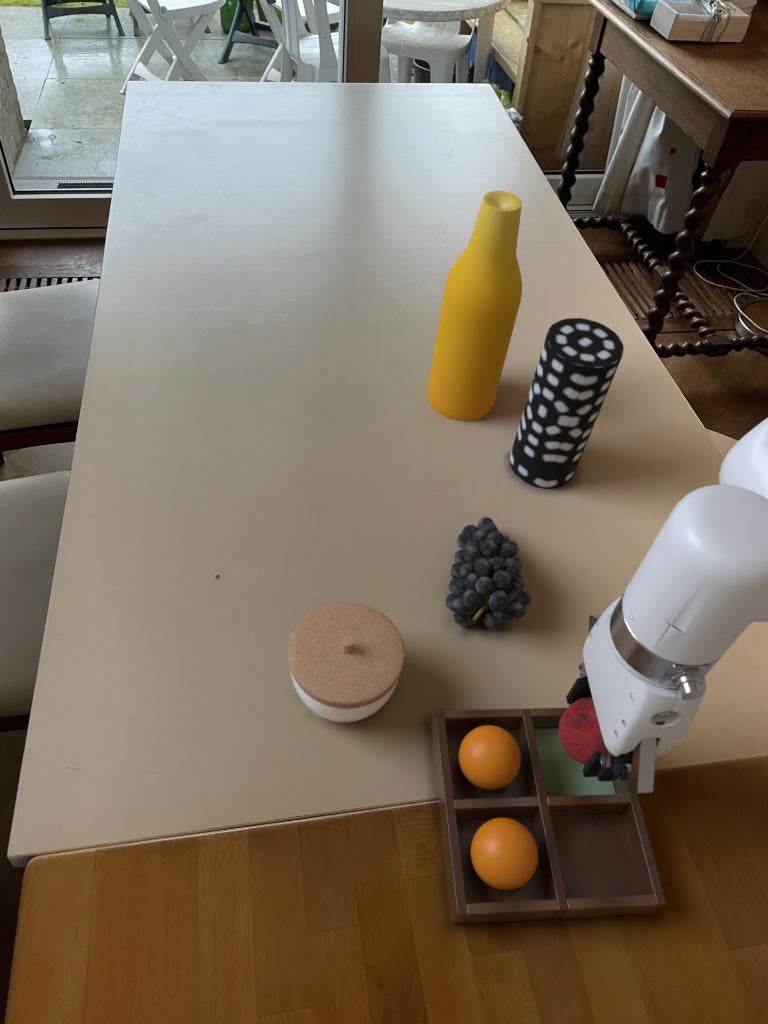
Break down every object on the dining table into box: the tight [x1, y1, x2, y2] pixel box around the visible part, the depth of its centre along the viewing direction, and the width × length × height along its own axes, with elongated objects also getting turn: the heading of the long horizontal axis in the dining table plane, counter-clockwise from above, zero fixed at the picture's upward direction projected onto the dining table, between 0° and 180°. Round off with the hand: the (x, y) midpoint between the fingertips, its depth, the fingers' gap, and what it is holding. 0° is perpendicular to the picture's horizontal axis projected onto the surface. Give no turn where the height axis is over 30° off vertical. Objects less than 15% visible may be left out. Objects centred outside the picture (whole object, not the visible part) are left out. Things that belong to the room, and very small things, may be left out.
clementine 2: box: [471, 818, 538, 890], centre depth 66 cm, size 6×6×6 cm
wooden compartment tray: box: [430, 707, 667, 925], centre depth 70 cm, size 17×17×4 cm
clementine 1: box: [459, 725, 521, 790], centre depth 71 cm, size 6×6×6 cm
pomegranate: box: [558, 697, 604, 765], centre depth 68 cm, size 6×6×8 cm
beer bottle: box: [426, 190, 523, 422], centre depth 95 cm, size 9×9×29 cm
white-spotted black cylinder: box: [508, 317, 625, 490], centre depth 92 cm, size 8×8×20 cm
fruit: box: [445, 516, 532, 631], centre depth 84 cm, size 9×8×15 cm
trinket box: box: [287, 600, 406, 723], centre depth 74 cm, size 11×11×9 cm
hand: (591, 735), depth 69 cm, fingers closed on pomegranate, 5 cm apart
